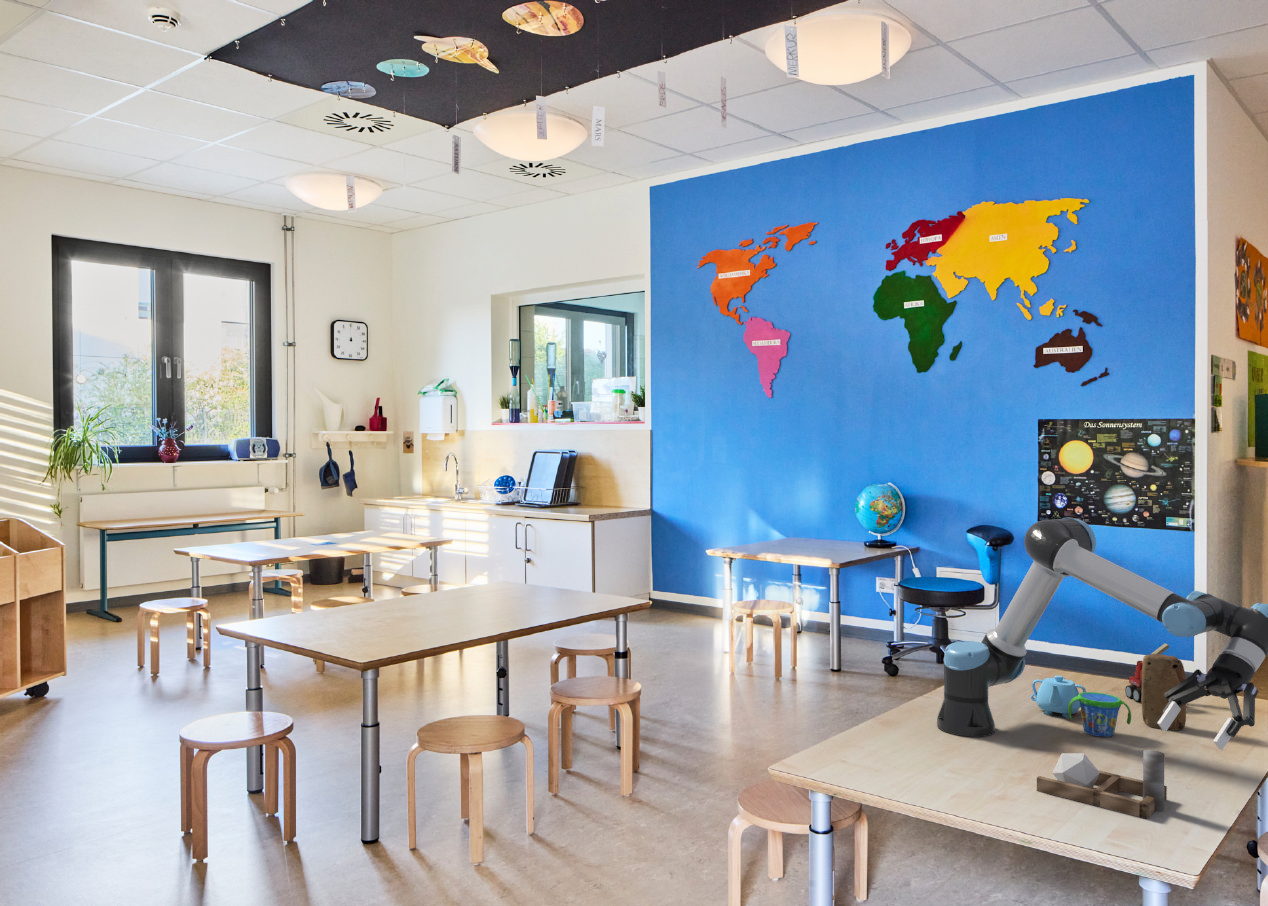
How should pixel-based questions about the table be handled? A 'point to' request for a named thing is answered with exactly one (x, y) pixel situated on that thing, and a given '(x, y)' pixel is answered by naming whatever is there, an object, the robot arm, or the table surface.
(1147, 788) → the frame
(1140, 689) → the toy fire truck
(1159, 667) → the block
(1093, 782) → the die
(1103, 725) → the snack cup
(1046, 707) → the teapot
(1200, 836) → the table surface
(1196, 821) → the table surface
